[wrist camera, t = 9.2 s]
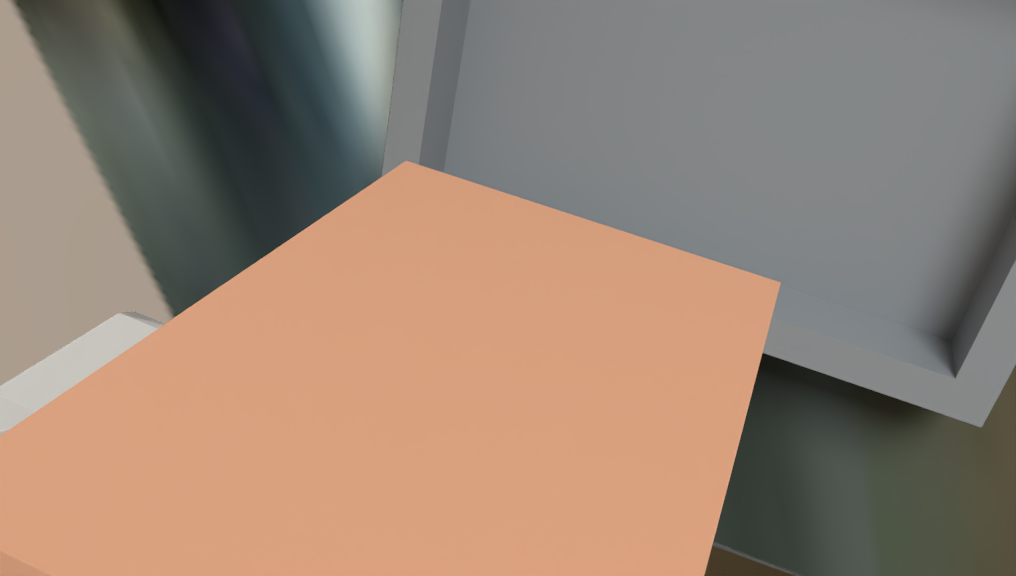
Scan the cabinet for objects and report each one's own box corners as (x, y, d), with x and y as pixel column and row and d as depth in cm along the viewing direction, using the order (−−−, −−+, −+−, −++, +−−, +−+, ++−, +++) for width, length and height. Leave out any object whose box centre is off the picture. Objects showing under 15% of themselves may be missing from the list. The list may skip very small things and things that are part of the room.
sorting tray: (481, -276, 22) (438, -285, 20) (1231, -121, 19) (1273, -113, 16) (415, 190, 28) (376, 220, 26) (974, 375, 25) (981, 427, 22)
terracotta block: (406, 161, 10) (-118, 515, 5) (780, 282, 9) (625, 875, 4) (365, 453, 12) (-39, 928, 7) (671, 577, 11) (472, 1230, 6)
